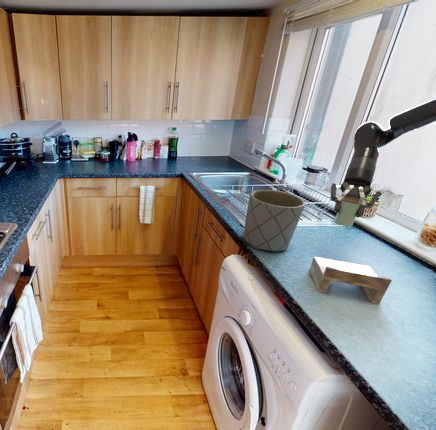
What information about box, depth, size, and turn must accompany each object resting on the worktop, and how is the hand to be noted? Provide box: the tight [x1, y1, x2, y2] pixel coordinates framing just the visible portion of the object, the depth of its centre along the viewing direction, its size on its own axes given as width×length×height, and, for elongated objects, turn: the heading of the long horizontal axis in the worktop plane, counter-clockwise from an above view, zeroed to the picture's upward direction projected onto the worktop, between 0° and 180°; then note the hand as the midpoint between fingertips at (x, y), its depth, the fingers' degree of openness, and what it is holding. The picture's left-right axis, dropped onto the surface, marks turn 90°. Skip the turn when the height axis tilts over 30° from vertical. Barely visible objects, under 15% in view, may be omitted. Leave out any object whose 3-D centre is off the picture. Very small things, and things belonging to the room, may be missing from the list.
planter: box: [242, 189, 306, 252], centre depth 115 cm, size 19×19×20 cm
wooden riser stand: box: [308, 256, 393, 305], centre depth 92 cm, size 16×12×9 cm
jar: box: [334, 197, 362, 227], centre depth 99 cm, size 6×6×9 cm
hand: (347, 214), depth 98 cm, fingers closed on jar, 5 cm apart
